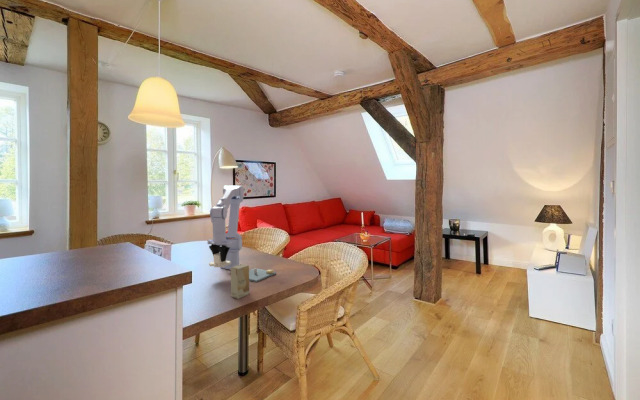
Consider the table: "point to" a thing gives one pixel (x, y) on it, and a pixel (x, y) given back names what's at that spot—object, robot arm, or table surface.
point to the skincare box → (239, 281)
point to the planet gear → (219, 261)
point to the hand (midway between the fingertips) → (220, 260)
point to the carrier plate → (259, 274)
